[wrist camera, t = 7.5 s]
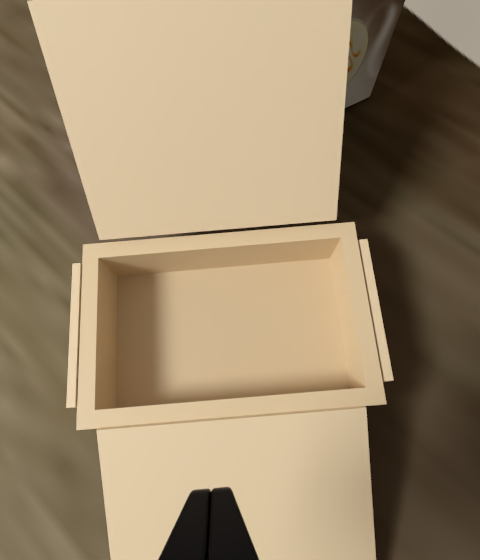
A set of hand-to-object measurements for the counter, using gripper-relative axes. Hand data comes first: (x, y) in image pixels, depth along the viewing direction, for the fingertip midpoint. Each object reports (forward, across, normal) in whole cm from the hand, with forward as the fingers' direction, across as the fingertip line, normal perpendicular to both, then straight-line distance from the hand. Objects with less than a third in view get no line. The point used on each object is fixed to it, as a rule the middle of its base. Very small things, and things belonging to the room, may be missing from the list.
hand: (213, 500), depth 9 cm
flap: (+13, 0, -6) cm, 15 cm away
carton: (+11, 0, +8) cm, 13 cm away
